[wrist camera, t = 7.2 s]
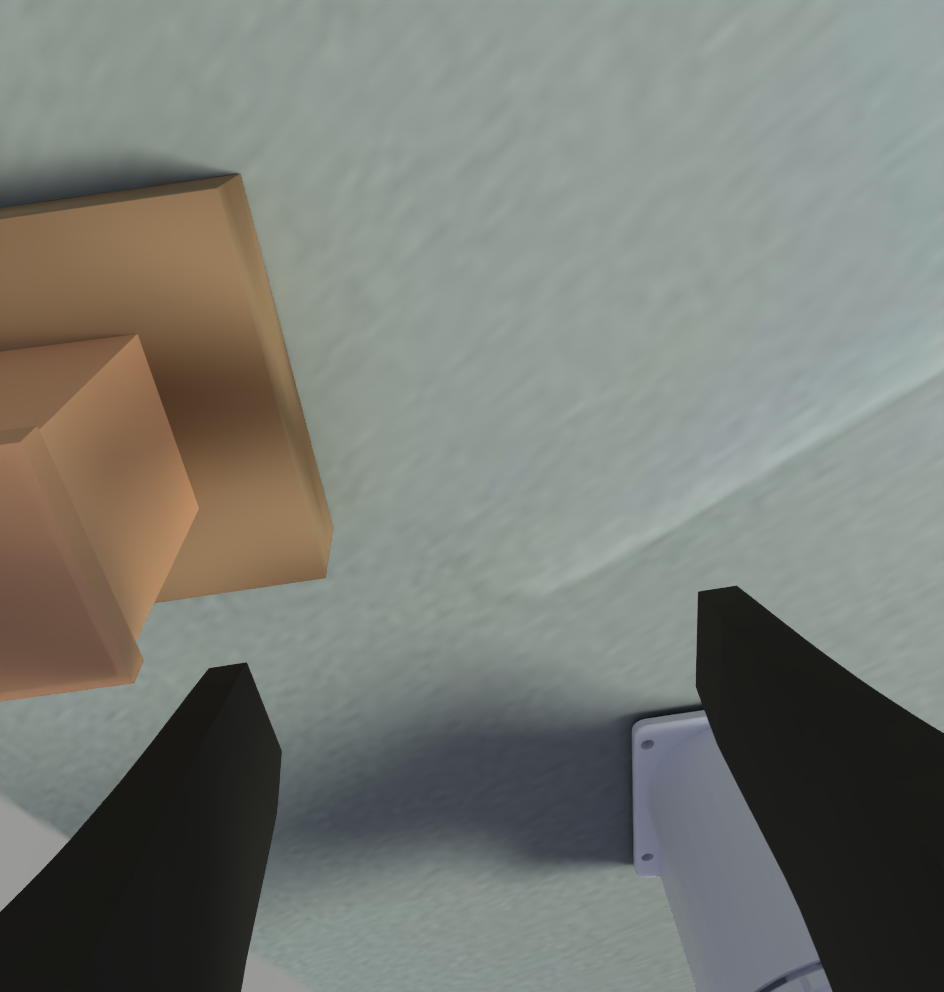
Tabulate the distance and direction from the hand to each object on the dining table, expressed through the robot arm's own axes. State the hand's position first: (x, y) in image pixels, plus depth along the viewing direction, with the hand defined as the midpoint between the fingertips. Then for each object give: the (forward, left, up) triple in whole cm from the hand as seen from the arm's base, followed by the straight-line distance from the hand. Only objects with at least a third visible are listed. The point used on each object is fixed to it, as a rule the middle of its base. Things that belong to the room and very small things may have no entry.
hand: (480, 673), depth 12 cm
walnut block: (+2, +9, -10) cm, 14 cm away
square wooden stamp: (+2, +9, -8) cm, 12 cm away
